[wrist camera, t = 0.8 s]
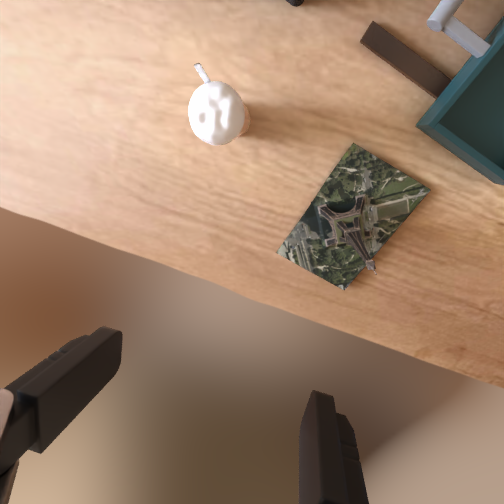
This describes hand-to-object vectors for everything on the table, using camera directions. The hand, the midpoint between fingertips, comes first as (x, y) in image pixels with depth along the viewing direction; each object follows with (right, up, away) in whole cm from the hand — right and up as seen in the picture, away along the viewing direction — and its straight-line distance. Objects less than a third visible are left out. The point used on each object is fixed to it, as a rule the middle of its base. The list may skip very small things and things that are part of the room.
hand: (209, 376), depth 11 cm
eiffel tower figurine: (+13, +8, +21) cm, 26 cm away
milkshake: (0, +20, +18) cm, 26 cm away
